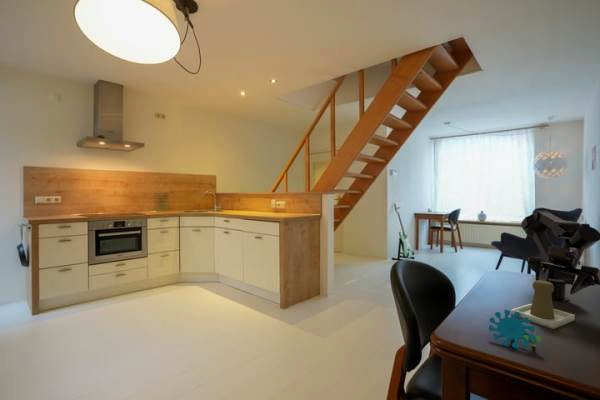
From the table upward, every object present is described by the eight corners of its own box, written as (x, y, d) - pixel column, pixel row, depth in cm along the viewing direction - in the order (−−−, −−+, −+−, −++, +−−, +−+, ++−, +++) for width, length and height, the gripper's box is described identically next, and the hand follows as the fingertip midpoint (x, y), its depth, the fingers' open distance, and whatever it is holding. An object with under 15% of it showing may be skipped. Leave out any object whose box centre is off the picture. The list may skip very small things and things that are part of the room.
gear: (481, 332, 78) (497, 302, 81) (485, 342, 81) (499, 313, 84) (531, 357, 69) (546, 322, 72) (533, 367, 72) (548, 333, 76)
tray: (533, 308, 101) (533, 302, 101) (574, 320, 91) (574, 314, 91) (511, 315, 94) (511, 309, 94) (552, 329, 85) (553, 323, 85)
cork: (559, 320, 89) (560, 284, 89) (536, 318, 91) (538, 283, 90) (547, 312, 95) (548, 279, 95) (526, 310, 97) (527, 277, 96)
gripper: (530, 234, 107) (512, 267, 102) (601, 242, 90) (583, 282, 85) (541, 254, 110) (524, 286, 105) (610, 265, 94) (594, 304, 89)
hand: (553, 289), depth 96 cm, fingers open, 9 cm apart
